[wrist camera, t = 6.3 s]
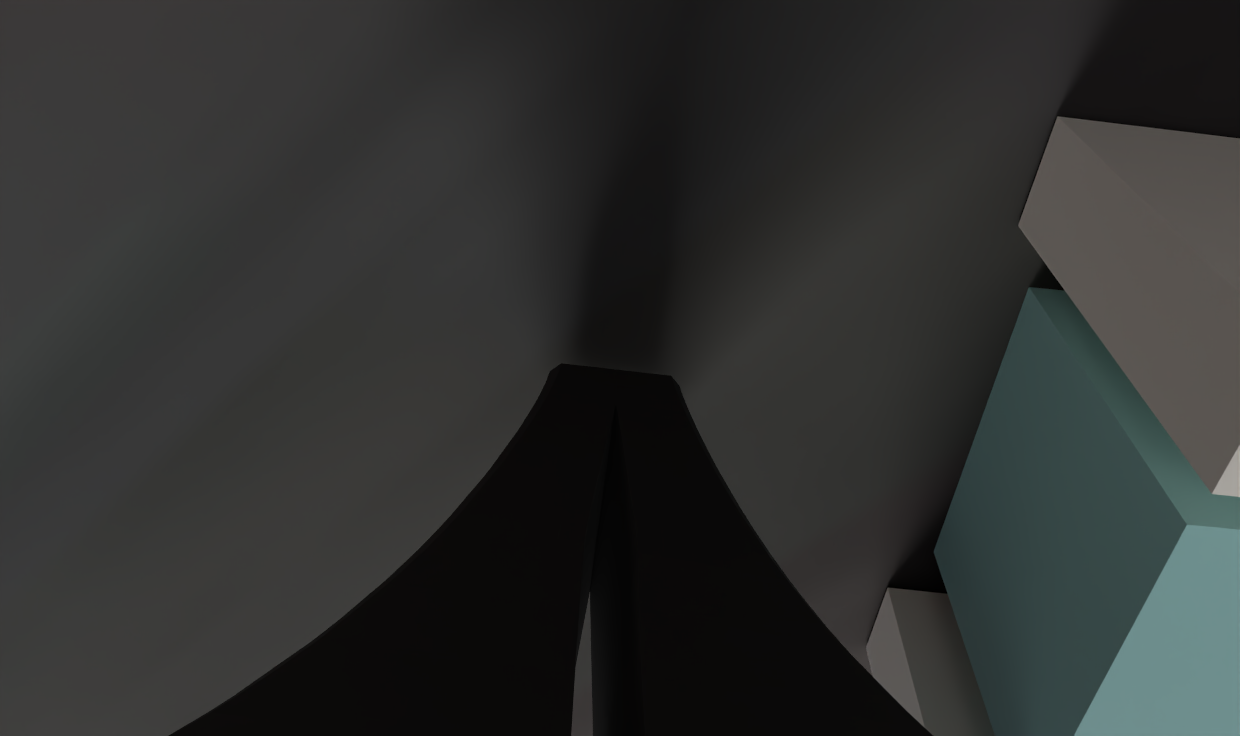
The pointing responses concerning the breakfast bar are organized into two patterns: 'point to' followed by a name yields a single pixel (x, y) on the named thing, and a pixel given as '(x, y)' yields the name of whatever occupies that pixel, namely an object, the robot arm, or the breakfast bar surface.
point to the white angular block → (1111, 343)
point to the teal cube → (1089, 551)
